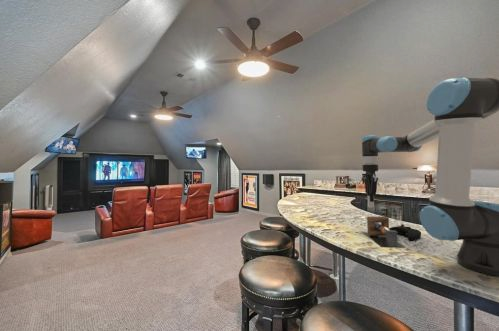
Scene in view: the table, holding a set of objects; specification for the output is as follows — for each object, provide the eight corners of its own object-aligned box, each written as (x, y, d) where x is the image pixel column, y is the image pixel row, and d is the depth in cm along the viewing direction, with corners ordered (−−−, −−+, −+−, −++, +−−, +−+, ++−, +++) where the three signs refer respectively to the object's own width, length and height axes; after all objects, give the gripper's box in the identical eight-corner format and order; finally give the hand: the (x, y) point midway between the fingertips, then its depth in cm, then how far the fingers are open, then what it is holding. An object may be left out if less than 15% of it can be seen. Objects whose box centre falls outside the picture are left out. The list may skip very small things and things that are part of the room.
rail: (405, 247, 96) (405, 231, 97) (381, 247, 98) (380, 230, 98) (382, 233, 117) (382, 219, 117) (362, 232, 119) (362, 219, 119)
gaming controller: (385, 225, 117) (399, 220, 120) (387, 236, 118) (401, 230, 120) (410, 232, 104) (426, 227, 106) (412, 245, 104) (428, 239, 106)
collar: (389, 235, 109) (388, 217, 109) (370, 235, 111) (369, 217, 111) (386, 234, 112) (385, 216, 112) (367, 233, 114) (367, 216, 114)
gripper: (383, 164, 112) (384, 209, 112) (372, 163, 125) (372, 205, 125) (367, 164, 113) (368, 209, 113) (358, 164, 126) (359, 205, 126)
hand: (370, 207), depth 119 cm, fingers closed
